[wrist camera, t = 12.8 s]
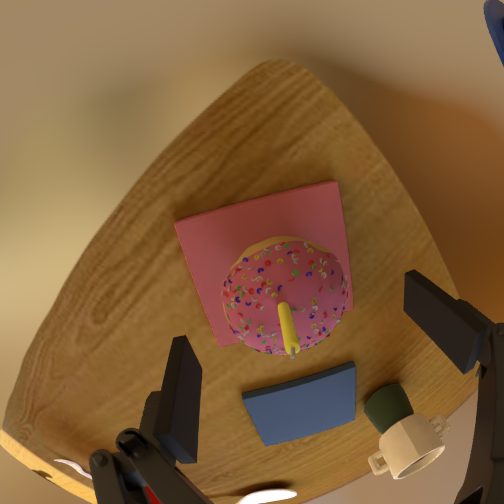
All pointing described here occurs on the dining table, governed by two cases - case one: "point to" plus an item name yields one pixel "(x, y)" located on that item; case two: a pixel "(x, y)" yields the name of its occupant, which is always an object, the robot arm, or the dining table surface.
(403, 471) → the character mug
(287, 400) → the blue mat
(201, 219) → the rose mat
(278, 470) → the dining table surface
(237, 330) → the cupcake
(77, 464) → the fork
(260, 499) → the spoon
